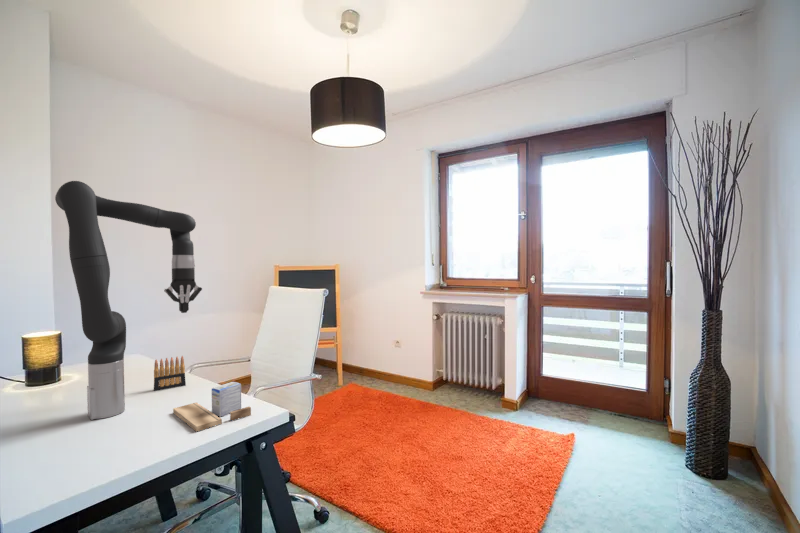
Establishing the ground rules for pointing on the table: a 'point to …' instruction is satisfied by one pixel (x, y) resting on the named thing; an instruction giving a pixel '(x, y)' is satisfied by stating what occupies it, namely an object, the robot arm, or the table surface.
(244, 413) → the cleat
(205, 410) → the board
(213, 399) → the medicine box
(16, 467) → the table surface
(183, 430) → the table surface
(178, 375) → the ammunition clip
